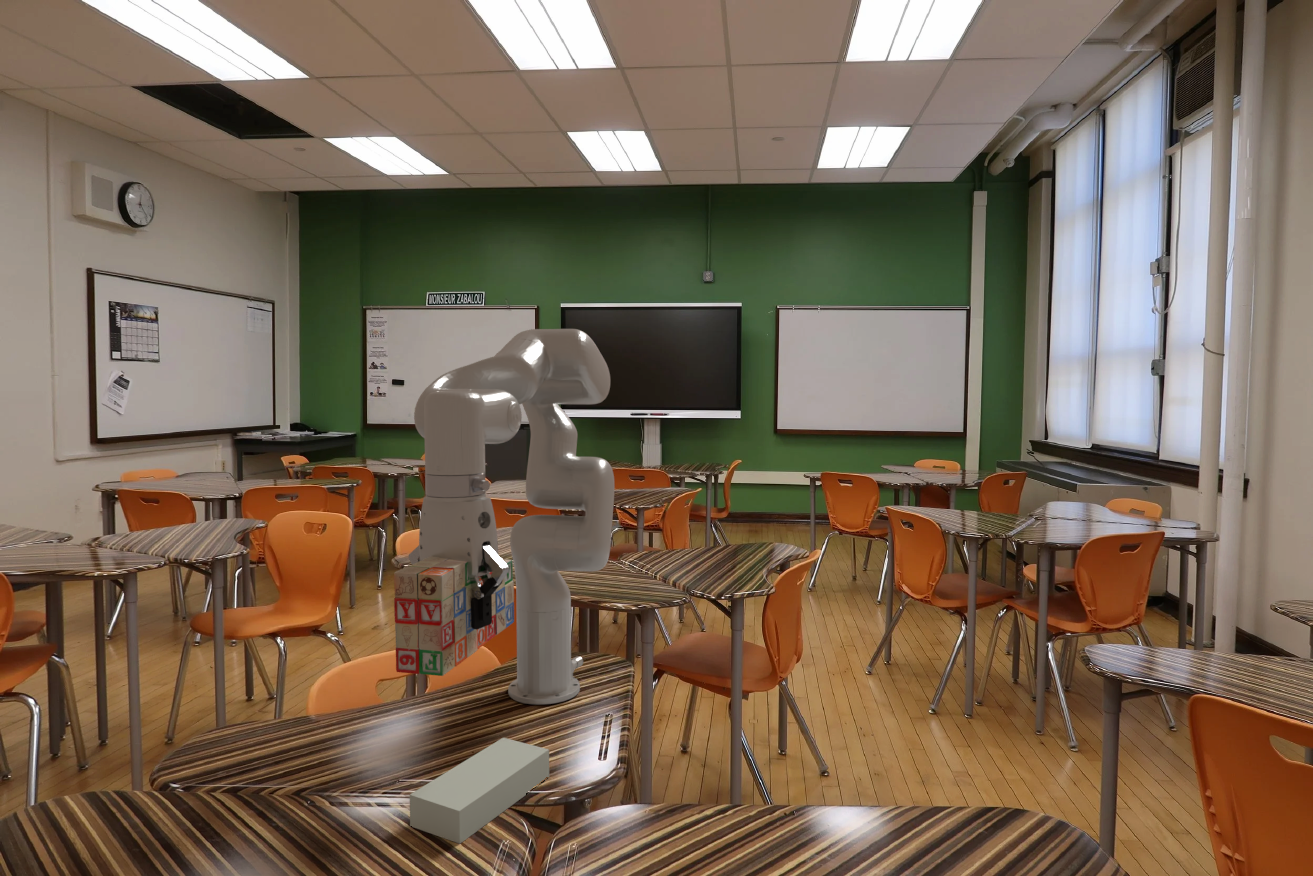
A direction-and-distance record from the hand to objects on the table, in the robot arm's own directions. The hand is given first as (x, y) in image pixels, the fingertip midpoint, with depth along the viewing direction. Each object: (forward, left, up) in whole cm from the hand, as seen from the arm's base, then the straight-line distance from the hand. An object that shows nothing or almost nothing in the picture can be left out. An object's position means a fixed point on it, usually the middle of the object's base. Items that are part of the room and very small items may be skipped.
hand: (458, 620), depth 102 cm
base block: (-1, +3, -24) cm, 24 cm away
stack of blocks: (-1, 0, -4) cm, 4 cm away
